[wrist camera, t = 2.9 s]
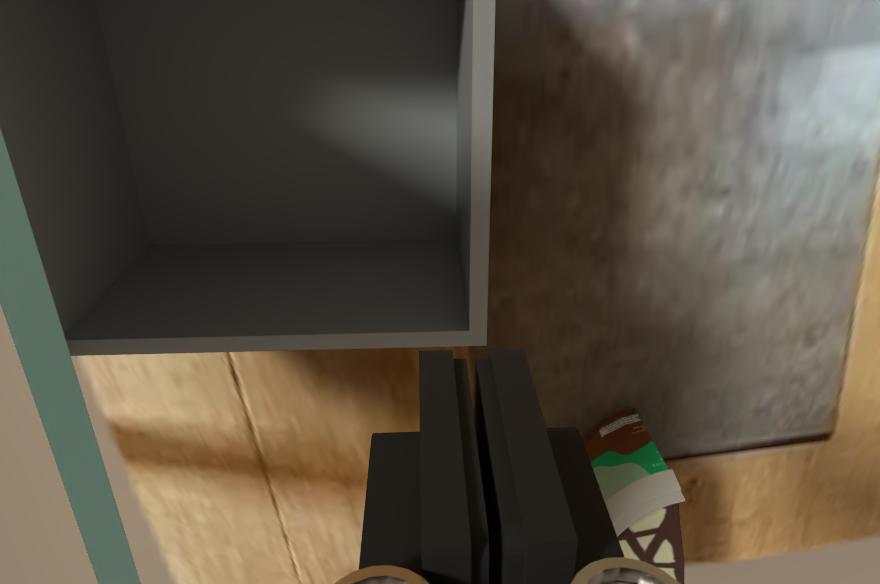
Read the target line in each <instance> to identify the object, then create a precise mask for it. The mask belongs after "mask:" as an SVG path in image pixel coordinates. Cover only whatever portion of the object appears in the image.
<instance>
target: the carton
mask: <svg viewBox="0 0 880 584" xmlns="http://www.w3.org/2000/svg"><path fill="white" fill-rule="evenodd" d="M495 1H496V0H0V128H1V132H2V135H3V138H4V141H5V145H6V148H7V151H8V154H9V158H10V161H11V164H12V167H13V171H14V174H15V177H16V180H17V183H18V187H19V190H20V193H21V196H22V200H23V203H24V206H25V209H26V213H27V216H28V219H29V222H30V226H31V229H32V232H33V235H34V239H35V242H36V245H37V248H38V252H39V255H40V258H41V261H42V265H43V268H44V271H45V274H46V278H47V281H48V284H49V287H50V291H51V294H52V297H53V300H54V304H55V307H56V310H57V313H58V317H59V320H60V323H61V326H62V330H63V333H64V336H65V339H66V343H67V346H68V349H69V352H70V356H80V355H121V354H163V353H204V352H246V351H287V350H328V349H370V348H411V347H453V346H487V310H488V271H489V233H490V194H491V155H492V117H493V78H494V39H495Z"/></svg>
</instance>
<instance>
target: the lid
mask: <svg viewBox="0 0 880 584" xmlns="http://www.w3.org/2000/svg"><path fill="white" fill-rule="evenodd" d="M0 304H1V306H2V309H3V312H4V315H5V318H6V321H7V324H8V326H9V329H10V332H11V335H12V338H13V341H14V344H15V347H16V349H17V352H18V355H19V358H20V361H21V364H22V367H23V369H24V372H25V375H26V378H27V381H28V384H29V387H30V389H31V392H32V395H33V398H34V401H35V403H36V407H37V409H38V412H39V415H40V418H41V421H42V424H43V427H44V429H45V432H46V435H47V438H48V441H49V444H50V446H51V450H52V452H53V455H54V458H55V461H56V464H57V467H58V469H59V472H60V475H61V478H62V481H63V484H64V487H65V489H66V492H67V495H68V498H69V501H70V504H71V507H72V510H73V512H74V515H75V518H76V521H77V524H78V527H79V529H80V532H81V535H82V538H83V541H84V544H85V547H86V550H87V553H88V555H89V558H90V561H91V564H92V567H93V570H94V572H95V575H96V578H97V581H98V584H141V583H140V580H139V576H138V573H137V570H136V567H135V564H134V561H133V557H132V554H131V551H130V548H129V544H128V541H127V538H126V534H125V531H124V528H123V524H122V522H121V518H120V515H119V512H118V508H117V505H116V502H115V499H114V495H113V492H112V489H111V486H110V482H109V479H108V476H107V473H106V470H105V466H104V463H103V460H102V456H101V453H100V450H99V447H98V443H97V440H96V437H95V434H94V430H93V427H92V424H91V421H90V417H89V414H88V411H87V408H86V404H85V402H84V398H83V395H82V391H81V388H80V385H79V382H78V379H77V375H76V372H75V369H74V366H73V362H72V359H71V356H70V352H69V349H68V346H67V343H66V339H65V336H64V333H63V330H62V326H61V323H60V320H59V317H58V313H57V310H56V307H55V304H54V300H53V297H52V294H51V291H50V287H49V284H48V281H47V278H46V274H45V271H44V268H43V265H42V261H41V258H40V255H39V252H38V248H37V245H36V242H35V239H34V235H33V232H32V229H31V226H30V222H29V219H28V216H27V213H26V209H25V206H24V203H23V200H22V196H21V193H20V190H19V187H18V183H17V180H16V177H15V174H14V171H13V167H12V164H11V161H10V158H9V154H8V151H7V148H6V145H5V141H4V138H3V135H2V132H1V128H0Z"/></svg>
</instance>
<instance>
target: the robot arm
mask: <svg viewBox="0 0 880 584" xmlns="http://www.w3.org/2000/svg"><path fill="white" fill-rule="evenodd" d="M419 376H420V432H398V433H373V434H372V439H371V448H370V458H369V469H368V479H367V490H366V500H365V511H364V521H363V531H362V542H361V552H360V563H359V570H357V571H354V572H352V573H350V574H349V575H347V576H345V577H344V578H342V579H340V580H339V581H337V582H336V583H335V584H680V583H679V582H678V581H677V580H675V579H674V578H673V577H671V576H670V575H669V574H667V573H666V572H665V571H663V570H662V569H659V568H657V567H655V566H653V565H651V564H649V563H646V562H644V561H640V560H635V559H630V558H626V557H624V554H623V551H622V549H621V546H620V543H619V540H618V537H617V535H616V532H615V529H614V526H613V523H612V521H611V518H610V515H609V512H608V509H607V507H606V504H605V501H604V498H603V496H602V493H601V490H600V487H599V484H598V482H597V479H596V476H595V473H594V470H593V468H592V465H591V462H590V459H589V456H588V454H587V451H586V448H585V445H584V443H583V440H582V437H581V435H580V433H579V431H578V429H577V428H575V427H571V428H546V427H545V424H544V420H543V417H542V413H541V410H540V406H539V403H538V399H537V396H536V392H535V389H534V385H533V382H532V378H531V375H530V371H529V368H528V364H527V361H526V357H525V354H524V351H523V349H489V351H488V358H476V363H475V419H474V417H473V409H472V401H471V394H470V386H469V378H468V371H467V363H466V359H453V351H452V350H444V351H419Z"/></svg>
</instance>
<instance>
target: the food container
mask: <svg viewBox="0 0 880 584" xmlns="http://www.w3.org/2000/svg"><path fill="white" fill-rule="evenodd" d="M582 440H583V443H584V445H585V448H586V451H587V454H588V456H589V459H590V462H591V465H592V468H593V470H594V473H595V476H596V479H597V482H598V484H599V487H600V490H601V493H602V496H603V498H604V501H605V504H606V507H607V509H608V512H609V515H610V518H611V521H612V523H613V526H614V529H615V532H616V535H617V537H618V540H619V543H620V546H621V549H622V551H623V554H624V557H626V558H630V559H635V560H640V561H644V562H646V563H649V564H651V565H653V566H655V567H657V568H659V569H662V570H663V571H665V572H666V573H667V574H669V575H670V576H671V577H673V578H674V579H675V580H677V581H678V582H679V583H680V584H684V556H683V548H682V539H681V530H680V517H679V504H678V503H680V502H684V501H685V498H684V496H683V494H682V492H681V488H680V485H679V483H678V481H677V478H676V476H675V474H674V471H673V469H668V467H667V465H666V464H665V462H664V460H663V458H662V456H661V455H660V453H659V451H658V449H657V447H656V446H655V444H654V442H653V440H652V438H651V437H650V435H649V433H648V431H647V429H646V428H645V426H644V424H643V422H642V420H641V419H640V417H639V415H638V413H637V411H636V410H635V408H633V409H629V410H625V411H622V412H618V413H616V414H614V415H612V416H610V417H609V418H607V419H605V420H603V421H601V422H599V423H598V424H597V425H596V426H595V427H594V428H593V429H591V430H590V431H589V432H588V433H587V434H586V435H585V436H584V438H583V439H582Z"/></svg>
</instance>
